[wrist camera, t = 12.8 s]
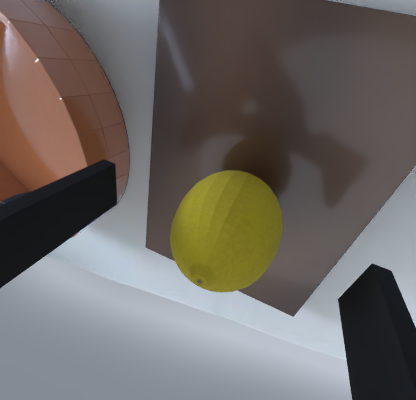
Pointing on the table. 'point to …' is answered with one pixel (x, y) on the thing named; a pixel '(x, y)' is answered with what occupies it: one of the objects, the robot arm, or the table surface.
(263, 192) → the lemon
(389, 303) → the robot arm
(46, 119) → the basin
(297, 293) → the board
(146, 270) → the table surface
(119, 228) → the table surface
